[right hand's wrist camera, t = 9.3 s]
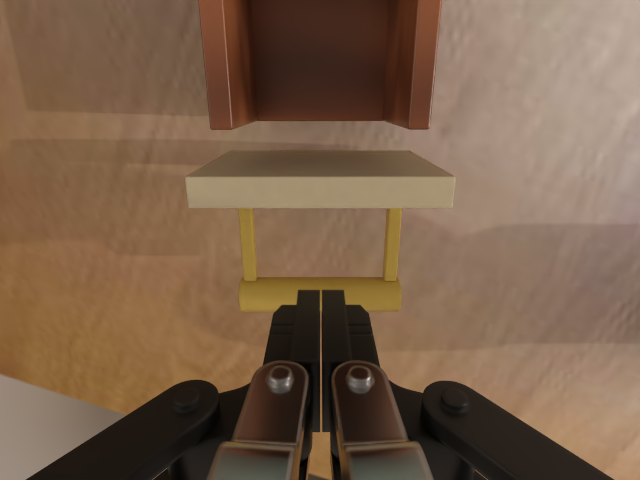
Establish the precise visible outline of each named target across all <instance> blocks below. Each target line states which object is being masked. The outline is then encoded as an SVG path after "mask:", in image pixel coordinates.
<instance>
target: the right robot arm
mask: <svg viewBox="0 0 640 480" xmlns="http://www.w3.org/2000/svg"><path fill="white" fill-rule="evenodd" d="M312 432H320V290H298V295H297V304H296V305H281V306H280V307H279V308H278V309H277V310H276V311H275V313H274V314H273V318H272V323H271V328H270V334H269V338H268V342H267V347H266V352H265V357H264V362H263V366H262V367H260V368H259V369H258V370H257V371H256V372H255V373H254V375H253V377H252V380H251V382H250V383H249V384H247V385H245V386H243V387H241V388H238V389H235V390H231V391H227V392H223V393H218V390H217V388H216V387H215V386H214V385H213V384H211V383H209V382H207V381H203V380H189V381H185V382H181V383H179V384H176V385H174V386H172V387H171V388H169V389H168V390H166V391H164V392H163V393H161V394H160V395H158V396H157V397H155V398H153V399H152V400H150V401H149V402H147V403H146V404H144V405H142V406H141V407H139V408H138V409H136V410H135V411H133V412H131V413H130V414H128V415H127V416H125V417H124V418H122V419H120V420H119V421H117V422H116V423H114V424H113V425H111V426H109V427H108V428H106V429H105V430H103V431H102V432H100V433H98V434H97V435H95V436H94V437H92V438H91V439H89V440H87V441H86V442H84V443H83V444H81V445H80V446H78V447H76V448H75V449H73V450H72V451H70V452H69V453H67V454H65V455H64V456H62V457H61V458H59V459H58V460H56V461H55V462H53V463H51V464H50V465H48V466H47V467H45V468H44V469H42V470H40V471H39V472H37V473H36V474H34V475H33V476H31V477H29V478H28V479H26V480H152V479H153V478H155V477H156V476H157V475H158V474H160V473H161V472H162V471H163V470H165V469H166V468H167V469H166V470H165V471H163V472H162V473H161V474H160V475H158V476H157V477H156V478H155V479H153V480H308V472H309V463H310V452H311V449H312ZM322 432H330V445H331V446H330V463H331V472H332V480H487V479H488V480H614V479H612V478H611V477H609V476H607V475H606V474H604V473H603V472H601V471H600V470H598V469H597V468H595V467H593V466H592V465H590V464H589V463H587V462H586V461H584V460H582V459H581V458H579V457H578V456H576V455H575V454H573V453H571V452H570V451H568V450H567V449H565V448H564V447H562V446H560V445H559V444H557V443H556V442H554V441H553V440H551V439H549V438H548V437H546V436H545V435H543V434H542V433H540V432H538V431H537V430H535V429H534V428H532V427H531V426H529V425H527V424H526V423H524V422H523V421H521V420H520V419H518V418H516V417H515V416H513V415H512V414H510V413H509V412H507V411H505V410H504V409H502V408H501V407H499V406H498V405H496V404H494V403H493V402H491V401H490V400H488V399H487V398H485V397H483V396H482V395H480V394H479V393H477V392H476V391H474V390H473V389H471V388H469V387H467V386H465V385H463V384H460V383H457V382H453V381H438V382H434V383H432V384H430V385H428V386H427V387H426V388H425V390H424V392H423V393H420V392H416V391H412V390H408V389H405V388H402V387H400V386H397V385H396V384H394V383H392V382H391V381H390V380H388V377H387V375H386V373H385V372H384V371H383V370H382V369H381V368H380V365H379V360H378V355H377V351H376V346H375V341H374V337H373V332H372V327H371V322H370V318H369V313H368V312H367V311H366V310H365V309H364V308H363V307H362V306H361V305H346V303H345V295H344V290H322ZM475 470H477V471H478V472H479V473H480V474H482V475H483V476H484V477H485V478H487V479H485V478H484V477H483V476H482V475H480V474H479V473H478V472H477V471H475Z"/></svg>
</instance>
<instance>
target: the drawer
mask: <svg viewBox="0 0 640 480" xmlns="http://www.w3.org/2000/svg"><path fill="white" fill-rule="evenodd" d="M198 1H199V12H200V23H201V33H202V44H203V54H204V65H205V76H206V86H207V97H208V107H209V118H210V128H211V129H212V130H232V129H235V128H237V127H240V126H243V125H246V124H249V123H252V122H255V121H386V122H389V123H392V124H395V125H398V126H401V127H404V128H407V129H429V128H430V121H431V111H432V100H433V90H434V79H435V68H436V58H437V47H438V37H439V26H440V15H441V5H442V0H198ZM455 180H456V177H455V176H453V175H451V174H450V173H448V172H446V171H444V170H443V169H441V168H439V167H437V166H436V165H434V164H432V163H430V162H428V161H427V160H425V159H423V158H421V157H420V156H418V155H416V154H414V153H413V152H411V151H229V152H227V153H226V154H224V155H222V156H221V157H219V158H217V159H215V160H214V161H212V162H210V163H208V164H207V165H205V166H203V167H201V168H200V169H198V170H196V171H195V172H193V173H191V174H189V175H188V176H186V177H185V183H186V191H187V200H188V207H189V208H238V211H239V224H240V238H241V251H242V264H243V277H244V278H242V279H241V281H240V285H239V307H240V310H241V311H243V312H275V311H276V310H277V309H278V308H279V307H280V306H281V305H296V304H297V295H298V290H320V311H322V290H344V295H345V303H346V305H361V306H362V307H363V308H364V309H365V310H366V311H399V310H400V308H401V302H402V291H401V284H400V281H399V278H397V268H398V254H399V241H400V228H401V215H402V208H452V204H453V196H454V188H455ZM253 208H387V215H386V231H385V247H384V264H383V277H257V260H256V243H255V227H254V211H253Z"/></svg>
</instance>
